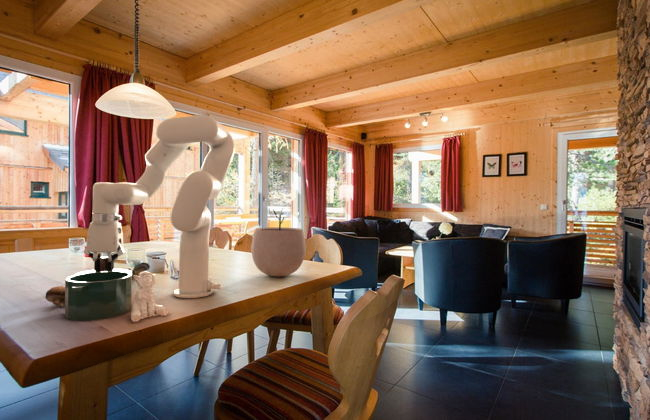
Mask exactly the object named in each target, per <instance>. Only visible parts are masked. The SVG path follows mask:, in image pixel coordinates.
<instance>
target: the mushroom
mask: <svg viewBox="0 0 650 420" xmlns="http://www.w3.org/2000/svg"><path fill="white" fill-rule="evenodd" d="M45 299H46V300H47V302H49V303H52V304H53V305H54V306H57V307H60V308H62V307H64V306H65V285H64V286H63V285H59V286H53V287H51V288H50V289H48V290H47V291H46V292H45Z"/></svg>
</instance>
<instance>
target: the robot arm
mask: <svg viewBox="0 0 650 420" xmlns="http://www.w3.org/2000/svg"><path fill="white" fill-rule="evenodd" d="M155 134H156V137H157V139H158V140H157V141H156V142H155V143H154V144H153V145H152V147H150V149H148V150H147V152H146V153H145V154H144V159H145V164H146V166H145V170H144V172H143V173H142V175H141V176H140V177H139V178H138V180H137V181H135V183H134V182H124V181H123V182H115V183H114V182H105V181H104V182H102V181H99V182H95V183H94V184H93V186H92V213H91V214H92V217H91V222H90V223H89V226H88V229H87V230H88V231H87V234H86V235H87V236H86V247H85V248H84V250H83V254H85V255H87V256H88V257H90V258H91V259H92V261H93V263H94V264H93V265H94V266H93V267H94V268H93V270H95V272H99V258H100V257H102V253H106V255H107V257H108V262H106V271H113V270H114V269H115V261H116V260H117V259H118V258H119V257H120V256H123V255H125V254H126V251H125V249H124V233H123V227H122V223H121V222H119V221H122V220H123V216H122V215H120V214H119V211H120V209H119V207H120V205H121V206H139V205H140V206H141V205H143V204H145V203H147V201H149V200H150V199H151V198H152V197H153V196H154V194H155V193H157V191H158V190H159V189H160V187H161V186H162V185H163V182H164V180H165V178H166V175H167V173H168V171H169V170H170V168H171V167H173V165H174V164H175V163H176V161H177V160H178V159H179V158H180V157H181V156H182V155H183V154H184V153H185V151H186V150H187V149H188V148H189V147H190V146H191V144H193V143H204V144H205V145H207V146H208V147H209V151H208V152H207V154H206V156H205V157H204V160H203V163H202V165H201V167H200V169H199V170H194V171H192V172H190V173H189V174H187V176H186V177H185V178H184V180H183V181H182V183H181V186H180V188H179V190H178V192H177V195H176V197H175V200H174V202H173V204H172V207H171V209H170V214H169V220H170V221H169V222H170V223H171V225H172V227H173V228H175V230H177V231H179V232H180V234H179V235H180V236H179V248H178V249H179V250H178V251H179V255H178V269H179V270H178V288H177V289H175V290H174V291H173V296H174V297H176V298H180V299H197V298H204V297H207V296H210V295H212V294H213V293H214V290H221V287H222V286H221V285H222V284H221V283H219V282H212V279H211V278H209V266H210V265H209V261H210V260H209V257H210V233H211V225H212V214H211V211H210V209H209V207H208V206H207V205H208V202H209V201H212V200H214V199H216V198H217V197H218V196H219V194H220V192H221V189H222V186H223V184H224V182H225V179H226V177H227V174H228V171H229V169H230V167H231V164H232V161H233V160H234V157H235V151H236V146H235V145H236V144H235V140H234V139H233V137H232V135H231V134H230V132H229V131H228V130H227V129H226V127H224V126H223V124H221V123H220V122H219V121H218V120H217V119H215V118H214V117H212V116H210V115H206V114H198V115H189V116H180V117H172V118H167V119H164V120H162V121H161V122H160V123H159V124H158V125H157V127H156V129H155Z"/></svg>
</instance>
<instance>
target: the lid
mask: <svg viewBox="0 0 650 420" xmlns="http://www.w3.org/2000/svg"><path fill="white" fill-rule="evenodd" d="M106 262H108V256H101V257H100V258H99V272H104V271H106ZM113 271H122V272H129V273H132V271H130V270H126V269H125V268H114V270H113ZM92 272H95V270H94V269H91V270H85V271H80V272H77V273H75V274H74V275H78V274H84V273H92Z"/></svg>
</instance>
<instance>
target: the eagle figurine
mask: <svg viewBox="0 0 650 420" xmlns="http://www.w3.org/2000/svg"><path fill="white" fill-rule="evenodd" d="M150 268H151V266H150V264H149V263H148V262H141V263H138V264H135V265H134V267H133V269H132V268H130V267H127V268H126V269H125V270H130V271H132V281H134V280H135V279H134V277H133V275H137V276H139V275H140V274H141V273H143V272H148V271H149V270H150Z"/></svg>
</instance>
